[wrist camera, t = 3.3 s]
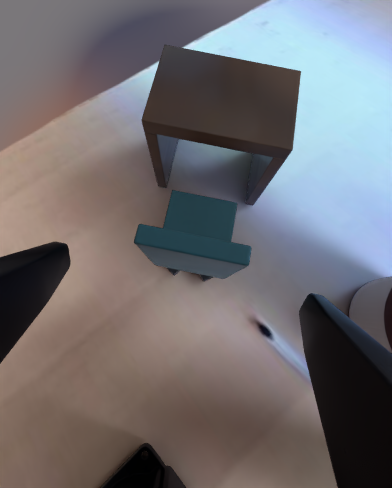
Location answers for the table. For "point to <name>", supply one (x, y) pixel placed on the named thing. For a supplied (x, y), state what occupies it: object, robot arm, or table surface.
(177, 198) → the office chair
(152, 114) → the desk
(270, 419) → the table surface
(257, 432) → the table surface
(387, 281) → the coffee cup
